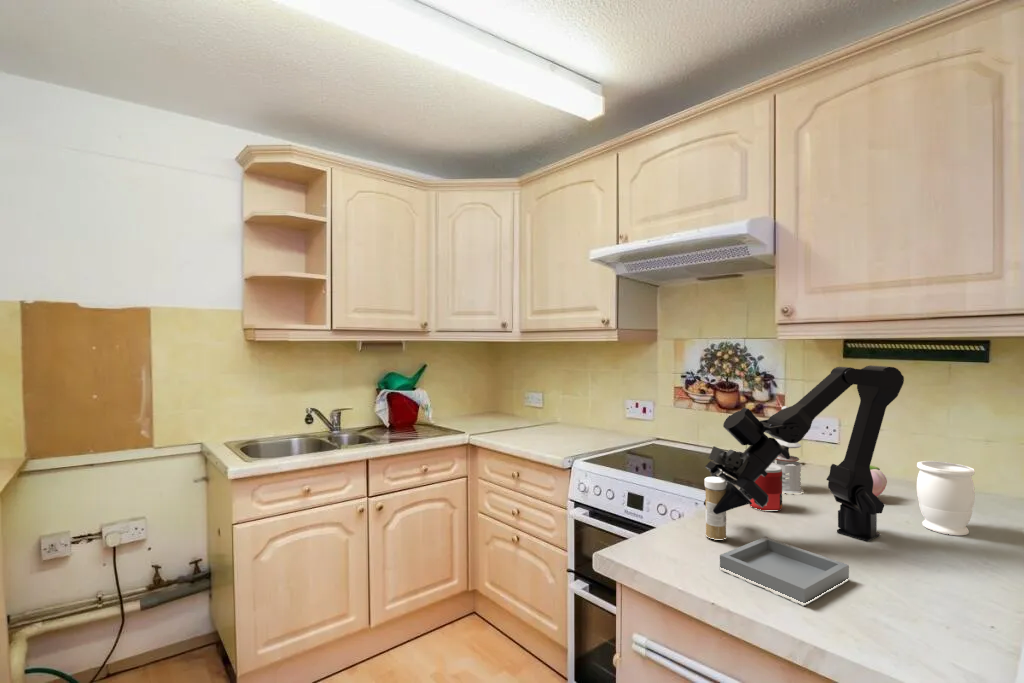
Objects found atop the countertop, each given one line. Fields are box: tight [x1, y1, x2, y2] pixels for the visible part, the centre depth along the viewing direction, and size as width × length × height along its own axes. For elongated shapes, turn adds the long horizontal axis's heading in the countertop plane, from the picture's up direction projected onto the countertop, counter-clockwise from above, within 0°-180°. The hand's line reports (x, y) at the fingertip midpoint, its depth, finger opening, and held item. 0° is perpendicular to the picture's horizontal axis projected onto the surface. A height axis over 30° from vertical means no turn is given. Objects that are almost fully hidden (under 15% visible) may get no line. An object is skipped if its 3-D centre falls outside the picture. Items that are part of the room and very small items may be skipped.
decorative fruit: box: [870, 464, 888, 497], centre depth 139 cm, size 9×8×10 cm
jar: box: [916, 460, 976, 536], centre depth 117 cm, size 11×10×15 cm
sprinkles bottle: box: [704, 476, 727, 539], centre depth 113 cm, size 5×5×14 cm
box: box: [719, 536, 850, 603], centre depth 95 cm, size 16×16×3 cm
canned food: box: [749, 464, 783, 511], centre depth 133 cm, size 8×8×11 cm
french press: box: [772, 405, 804, 493], centre depth 149 cm, size 10×12×25 cm
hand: (709, 509), depth 113 cm, fingers closed on sprinkles bottle, 4 cm apart
